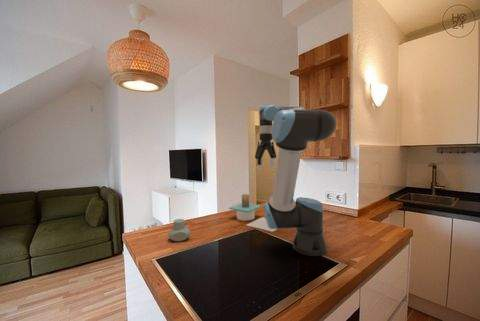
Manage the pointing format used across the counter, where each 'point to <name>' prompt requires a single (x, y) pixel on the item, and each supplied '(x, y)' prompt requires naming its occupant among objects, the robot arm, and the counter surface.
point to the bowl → (245, 215)
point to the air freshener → (179, 230)
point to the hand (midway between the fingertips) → (266, 169)
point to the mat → (261, 224)
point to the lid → (245, 205)
